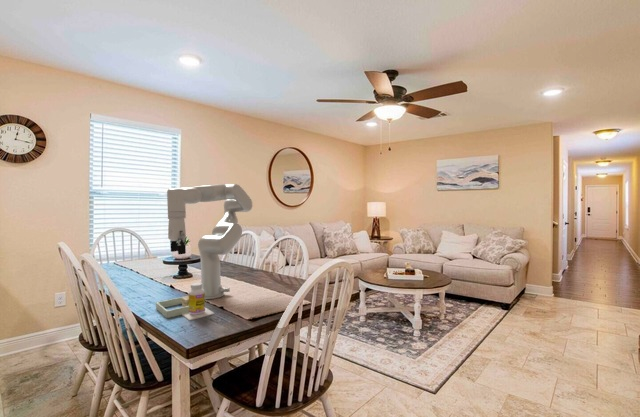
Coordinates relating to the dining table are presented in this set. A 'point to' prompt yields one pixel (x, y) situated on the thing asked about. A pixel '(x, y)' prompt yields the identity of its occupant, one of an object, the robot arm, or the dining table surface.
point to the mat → (192, 317)
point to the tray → (171, 302)
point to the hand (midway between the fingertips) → (178, 252)
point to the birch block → (185, 301)
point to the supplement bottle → (196, 299)
